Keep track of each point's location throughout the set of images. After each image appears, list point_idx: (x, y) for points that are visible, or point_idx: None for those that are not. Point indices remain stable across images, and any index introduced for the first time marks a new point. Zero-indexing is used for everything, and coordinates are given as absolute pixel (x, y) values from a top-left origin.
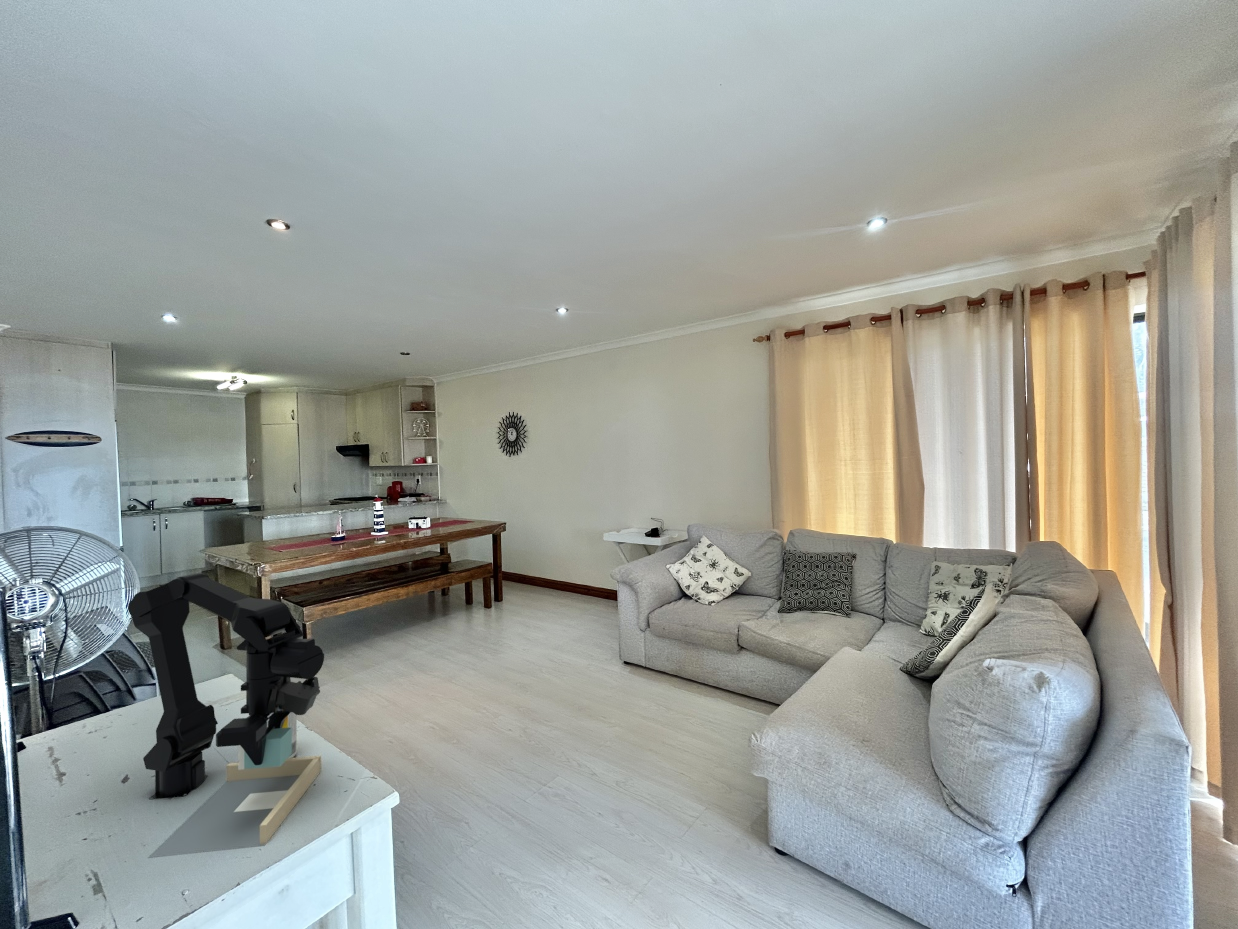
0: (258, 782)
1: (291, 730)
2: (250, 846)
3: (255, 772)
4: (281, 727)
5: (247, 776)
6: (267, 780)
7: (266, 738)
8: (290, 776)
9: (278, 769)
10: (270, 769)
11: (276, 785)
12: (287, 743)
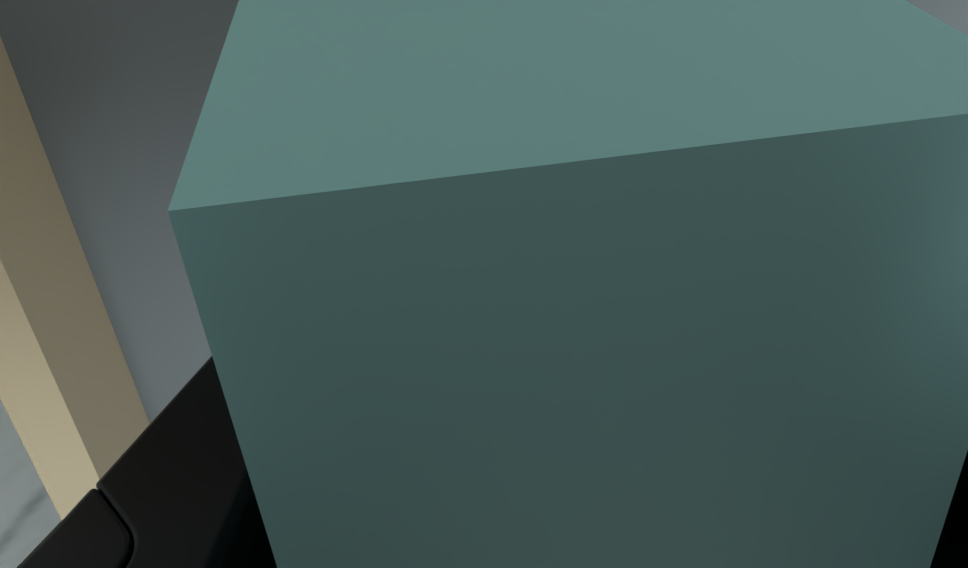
0: (168, 283)
1: (200, 159)
2: None
3: (103, 381)
4: (99, 550)
5: (131, 413)
6: (126, 225)
7: (879, 516)
8: (16, 30)
9: (23, 199)
10: (50, 275)
11: (197, 84)
12: (478, 11)
